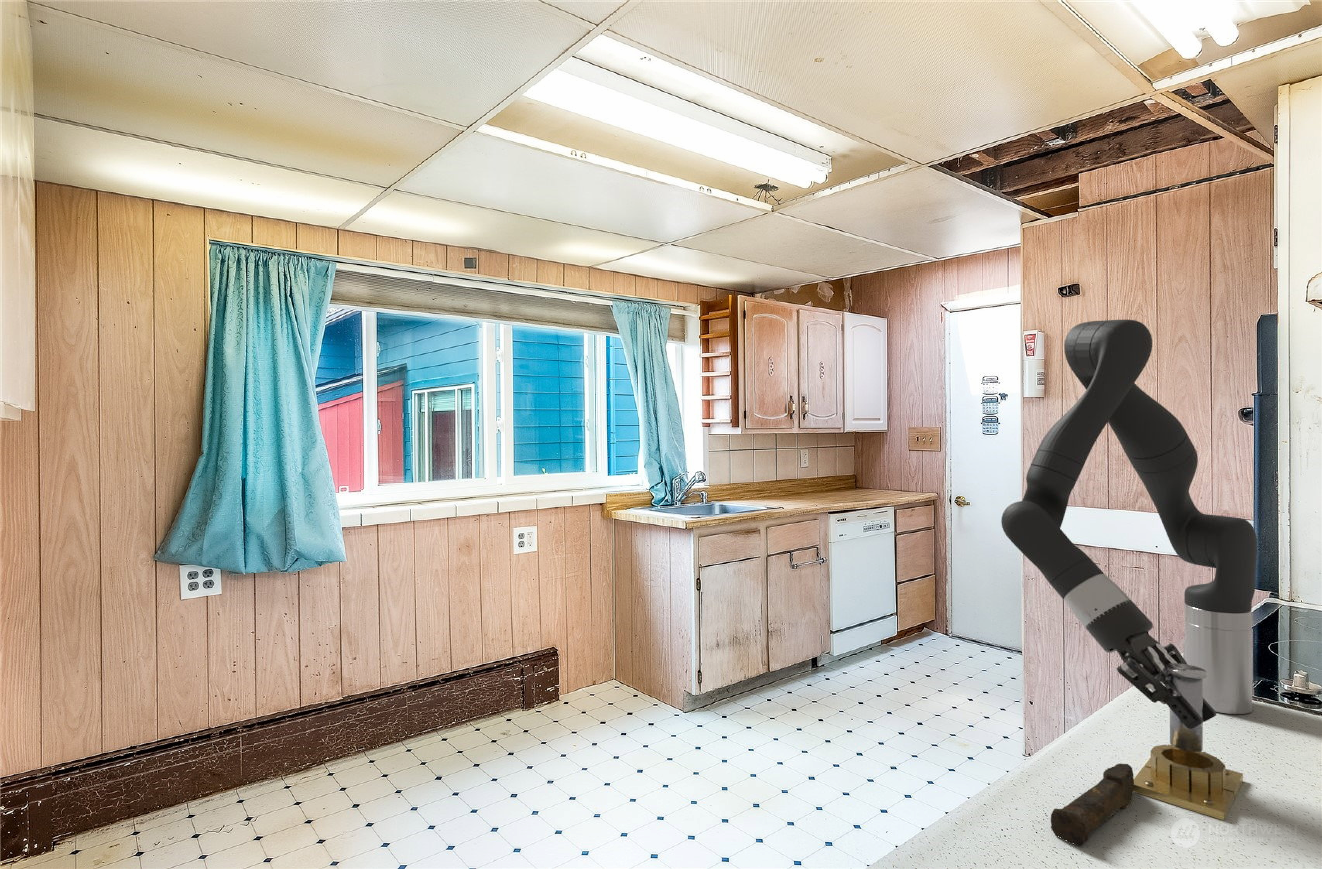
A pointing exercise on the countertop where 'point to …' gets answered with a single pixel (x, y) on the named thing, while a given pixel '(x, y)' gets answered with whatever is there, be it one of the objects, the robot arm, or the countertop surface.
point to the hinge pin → (1191, 689)
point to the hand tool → (1094, 805)
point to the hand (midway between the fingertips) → (1203, 721)
